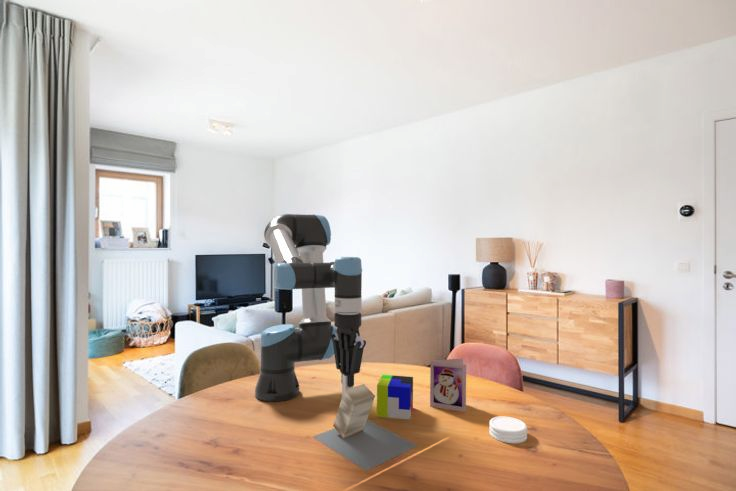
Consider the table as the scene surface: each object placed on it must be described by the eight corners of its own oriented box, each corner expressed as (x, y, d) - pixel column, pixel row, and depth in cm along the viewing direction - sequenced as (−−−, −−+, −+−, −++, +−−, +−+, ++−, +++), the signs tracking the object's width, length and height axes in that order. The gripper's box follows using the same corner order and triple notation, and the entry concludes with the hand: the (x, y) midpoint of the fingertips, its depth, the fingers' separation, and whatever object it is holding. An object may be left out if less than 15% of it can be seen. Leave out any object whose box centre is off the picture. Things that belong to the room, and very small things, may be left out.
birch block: (333, 425, 113) (344, 390, 110) (352, 418, 118) (364, 384, 114) (343, 438, 110) (355, 402, 106) (363, 430, 115) (375, 395, 111)
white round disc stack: (526, 430, 117) (526, 418, 117) (527, 447, 108) (528, 434, 107) (490, 425, 120) (490, 413, 120) (488, 440, 111) (488, 428, 111)
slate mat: (312, 438, 111) (312, 436, 111) (362, 419, 123) (362, 417, 123) (366, 472, 95) (366, 470, 95) (417, 446, 107) (418, 445, 107)
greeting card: (429, 407, 132) (429, 361, 132) (434, 399, 139) (435, 355, 139) (465, 413, 128) (465, 365, 128) (468, 404, 135) (469, 359, 135)
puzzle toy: (409, 421, 122) (409, 387, 122) (376, 417, 124) (377, 385, 124) (412, 407, 132) (413, 376, 132) (382, 405, 134) (382, 374, 134)
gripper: (323, 310, 116) (322, 393, 116) (352, 317, 107) (352, 407, 107) (344, 308, 121) (343, 387, 121) (373, 313, 112) (373, 400, 112)
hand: (347, 396), depth 114 cm, fingers closed
